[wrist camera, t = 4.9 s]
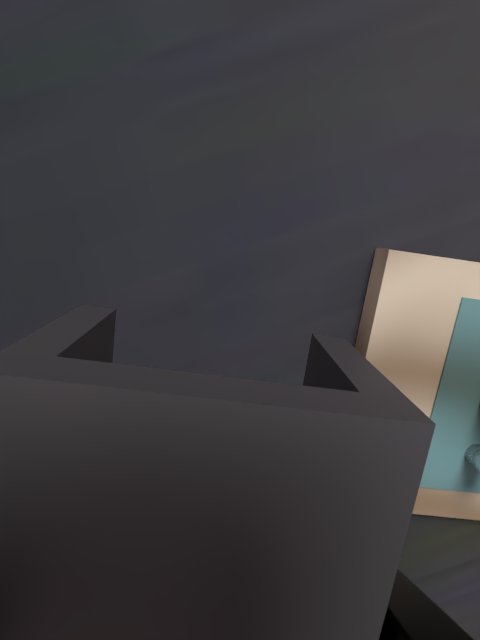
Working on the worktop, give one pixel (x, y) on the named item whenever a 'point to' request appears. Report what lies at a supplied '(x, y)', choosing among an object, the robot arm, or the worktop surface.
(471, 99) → the worktop surface
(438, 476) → the pin board
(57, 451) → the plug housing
